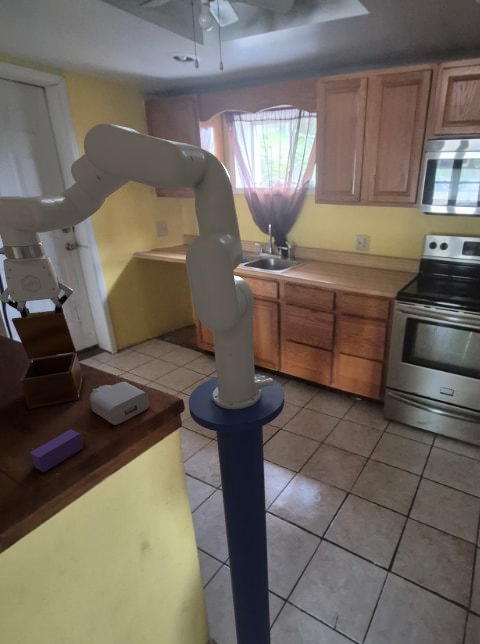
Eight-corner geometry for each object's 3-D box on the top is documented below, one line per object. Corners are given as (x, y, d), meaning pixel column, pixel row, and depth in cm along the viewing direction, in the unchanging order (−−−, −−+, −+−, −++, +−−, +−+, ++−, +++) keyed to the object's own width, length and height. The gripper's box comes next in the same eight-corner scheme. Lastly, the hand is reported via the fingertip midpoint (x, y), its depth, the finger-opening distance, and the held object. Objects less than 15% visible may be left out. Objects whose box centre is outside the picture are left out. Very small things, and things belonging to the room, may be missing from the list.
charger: (115, 388, 97) (149, 407, 89) (79, 404, 90) (113, 427, 82) (112, 372, 95) (146, 390, 88) (75, 387, 89) (109, 409, 81)
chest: (79, 399, 92) (71, 372, 89) (28, 409, 88) (19, 380, 85) (83, 378, 102) (76, 352, 99) (37, 385, 98) (29, 359, 95)
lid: (63, 314, 91) (64, 304, 94) (11, 320, 87) (14, 309, 90) (76, 352, 99) (76, 341, 102) (28, 359, 95) (30, 347, 98)
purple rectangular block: (74, 443, 77) (70, 429, 76) (83, 447, 76) (79, 433, 75) (34, 467, 71) (29, 452, 70) (43, 472, 70) (38, 457, 68)
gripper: (-26, 257, 81) (0, 333, 88) (65, 252, 88) (82, 323, 95) (-15, 251, 87) (8, 322, 95) (69, 247, 94) (84, 313, 101)
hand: (45, 322), depth 95 cm, fingers closed on lid, 6 cm apart
